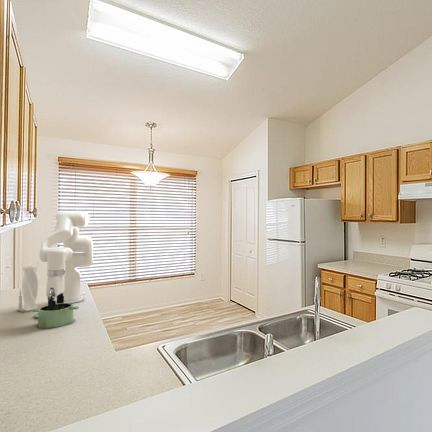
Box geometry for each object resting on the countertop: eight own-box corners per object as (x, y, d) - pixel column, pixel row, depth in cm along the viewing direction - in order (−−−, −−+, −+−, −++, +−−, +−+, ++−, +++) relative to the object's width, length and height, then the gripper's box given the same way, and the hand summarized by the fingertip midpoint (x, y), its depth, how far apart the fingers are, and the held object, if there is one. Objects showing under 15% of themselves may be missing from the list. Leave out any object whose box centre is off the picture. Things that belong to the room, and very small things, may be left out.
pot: (40, 320, 170) (40, 304, 170) (82, 317, 175) (82, 301, 175) (25, 329, 156) (25, 312, 156) (72, 326, 161) (72, 309, 161)
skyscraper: (34, 306, 195) (34, 261, 195) (41, 308, 191) (41, 262, 191) (17, 310, 187) (18, 263, 187) (24, 312, 183) (24, 264, 183)
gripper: (55, 270, 173) (55, 301, 173) (39, 276, 156) (39, 311, 156) (71, 269, 175) (71, 300, 175) (57, 275, 158) (57, 310, 158)
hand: (56, 305), depth 166 cm, fingers open, 9 cm apart
